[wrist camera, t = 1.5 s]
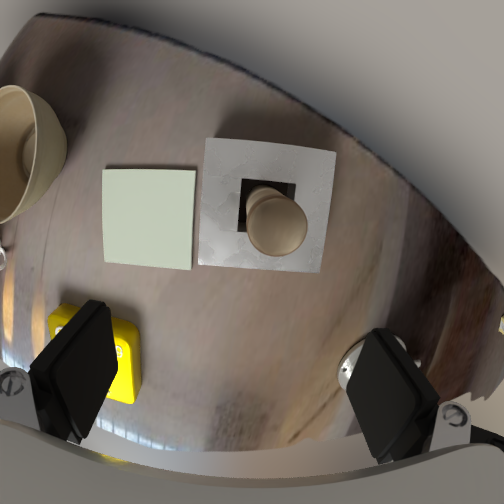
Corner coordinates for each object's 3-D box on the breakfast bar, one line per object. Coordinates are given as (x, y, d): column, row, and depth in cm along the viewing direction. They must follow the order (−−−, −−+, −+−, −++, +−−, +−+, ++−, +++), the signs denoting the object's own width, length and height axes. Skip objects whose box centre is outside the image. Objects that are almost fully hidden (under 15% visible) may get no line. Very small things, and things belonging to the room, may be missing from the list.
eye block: (322, 153, 31) (336, 152, 26) (309, 258, 35) (319, 273, 30) (211, 141, 30) (206, 137, 25) (204, 250, 34) (198, 264, 29)
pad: (196, 170, 31) (195, 170, 30) (191, 268, 35) (191, 269, 34) (104, 169, 30) (102, 169, 30) (106, 260, 34) (104, 261, 33)
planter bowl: (106, 162, 30) (56, 165, 20) (35, 228, 32) (-13, 249, 22) (65, 75, 26) (18, 57, 15) (1, 145, 27) (-46, 149, 17)
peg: (282, 185, 32) (311, 200, 18) (278, 220, 33) (303, 259, 20) (246, 181, 32) (249, 193, 18) (243, 217, 33) (244, 254, 19)
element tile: (70, 367, 40) (60, 383, 36) (58, 299, 36) (42, 313, 31) (142, 390, 42) (135, 409, 37) (140, 322, 37) (130, 340, 33)
